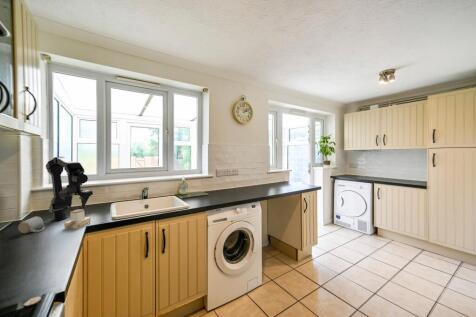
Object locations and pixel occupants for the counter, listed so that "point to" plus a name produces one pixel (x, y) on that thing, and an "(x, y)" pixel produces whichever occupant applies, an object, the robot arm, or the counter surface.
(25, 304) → the counter surface
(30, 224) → the ceramic mug
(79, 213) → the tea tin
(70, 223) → the oak block
